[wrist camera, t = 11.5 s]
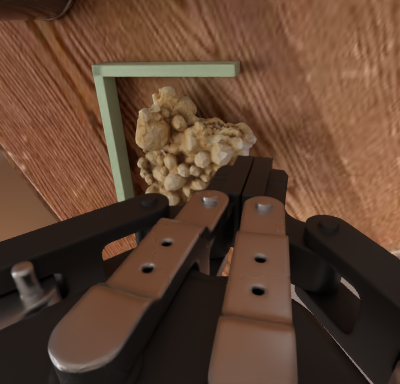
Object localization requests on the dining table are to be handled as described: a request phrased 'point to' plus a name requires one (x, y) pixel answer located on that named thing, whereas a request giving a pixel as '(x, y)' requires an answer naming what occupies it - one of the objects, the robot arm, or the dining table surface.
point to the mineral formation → (185, 146)
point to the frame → (111, 108)
